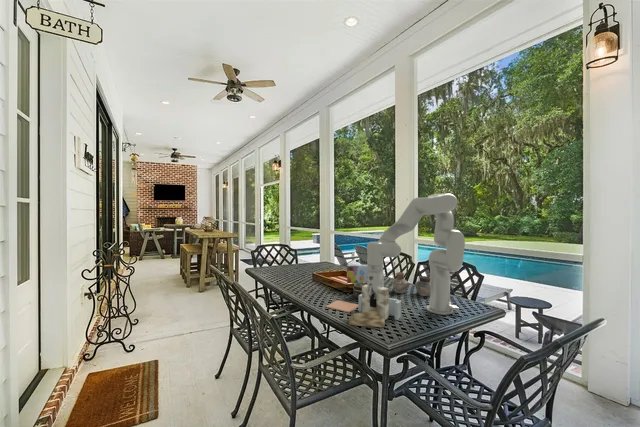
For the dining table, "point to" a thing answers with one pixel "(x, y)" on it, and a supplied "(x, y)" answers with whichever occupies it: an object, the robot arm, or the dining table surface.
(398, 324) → the dining table surface
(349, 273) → the snack box
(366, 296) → the cream block
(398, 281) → the pottery
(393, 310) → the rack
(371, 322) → the block
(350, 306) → the tile
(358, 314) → the offcut top
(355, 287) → the jar
